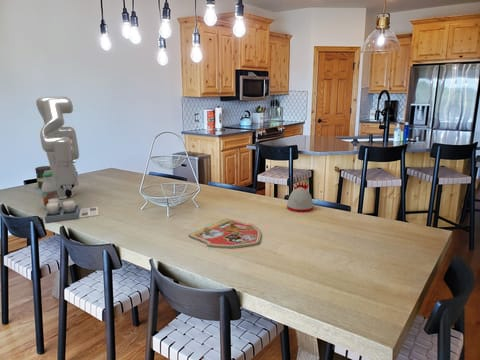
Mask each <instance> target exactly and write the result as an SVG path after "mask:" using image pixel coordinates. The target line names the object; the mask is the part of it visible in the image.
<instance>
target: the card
mask: <svg viewBox="0 0 480 360" xmlns="http://www.w3.org/2000/svg"><path fill="white" fill-rule="evenodd" d="M98 216H99V207H98V206H93V207H87V208H79V218H78V219H82V218H84V219H85V218H92V217H98Z"/></svg>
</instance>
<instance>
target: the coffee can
mask: <svg viewBox="0 0 480 360" xmlns="http://www.w3.org/2000/svg"><path fill="white" fill-rule="evenodd" d="M34 170H35V175H36V182H37V188H38V190H40V191H42V185H43V181H44V178H43V174H44V173H51V169H50V165H43V166H38V167H35V169H34Z"/></svg>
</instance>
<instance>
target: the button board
mask: <svg viewBox="0 0 480 360" xmlns="http://www.w3.org/2000/svg"><path fill="white" fill-rule="evenodd" d="M75 205H76V209H73V210H74V211H72V212H66V210H64V206H60V207H59V210H57V212H58V213H56V214H50V213H49V212H48V210H46V212H45V215H44V223H45V224H50V223H56V222H63V221H72V220H79V219H80V218H79V216H80V205H79V204H75Z"/></svg>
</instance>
